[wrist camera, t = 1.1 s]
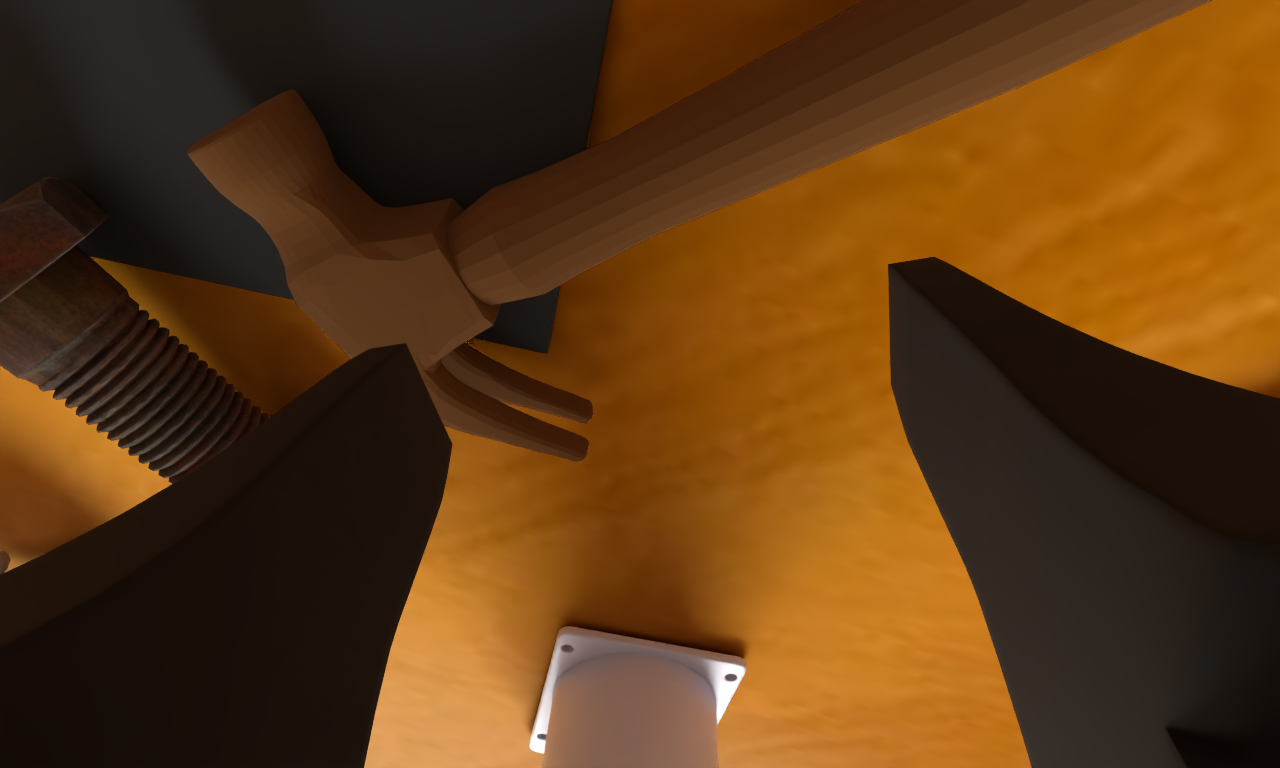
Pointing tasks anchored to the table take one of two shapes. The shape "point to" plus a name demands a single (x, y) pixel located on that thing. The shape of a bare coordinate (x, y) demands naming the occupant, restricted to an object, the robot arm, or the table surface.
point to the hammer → (622, 184)
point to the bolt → (104, 340)
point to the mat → (329, 86)
